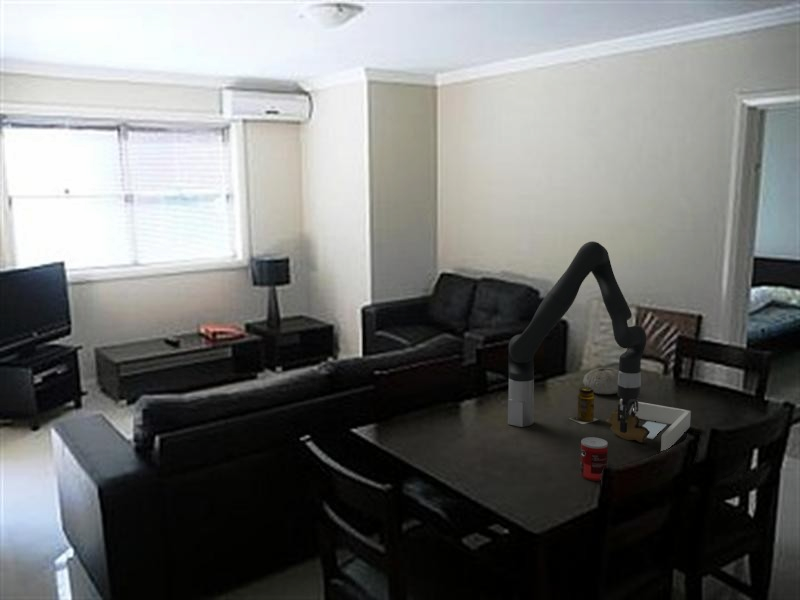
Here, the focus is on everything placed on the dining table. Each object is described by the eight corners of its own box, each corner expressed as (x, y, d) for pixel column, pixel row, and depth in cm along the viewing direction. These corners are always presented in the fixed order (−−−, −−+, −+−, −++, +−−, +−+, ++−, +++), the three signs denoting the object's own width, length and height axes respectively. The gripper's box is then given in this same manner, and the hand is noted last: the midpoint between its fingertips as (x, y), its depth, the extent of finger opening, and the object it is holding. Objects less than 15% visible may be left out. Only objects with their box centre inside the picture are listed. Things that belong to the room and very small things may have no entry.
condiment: (598, 420, 260) (599, 389, 258) (583, 424, 255) (583, 393, 253) (583, 414, 266) (584, 384, 264) (568, 419, 261) (569, 388, 259)
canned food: (586, 468, 217) (587, 435, 215) (611, 474, 212) (612, 440, 210) (575, 476, 211) (576, 442, 209) (600, 483, 206) (601, 448, 204)
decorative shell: (575, 388, 300) (575, 365, 298) (610, 383, 305) (611, 361, 303) (598, 400, 283) (599, 376, 281) (635, 395, 288) (636, 372, 286)
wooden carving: (652, 443, 236) (653, 415, 234) (644, 446, 233) (646, 418, 231) (610, 430, 248) (611, 404, 247) (603, 433, 245) (603, 407, 244)
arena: (665, 453, 227) (666, 435, 226) (590, 437, 242) (591, 421, 241) (690, 426, 251) (690, 410, 250) (620, 413, 266) (621, 398, 265)
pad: (652, 439, 239) (652, 438, 239) (632, 435, 243) (632, 434, 243) (667, 425, 253) (667, 424, 253) (647, 421, 257) (647, 420, 257)
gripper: (625, 377, 245) (623, 420, 248) (611, 387, 234) (609, 432, 237) (646, 380, 241) (645, 424, 243) (633, 390, 229) (631, 437, 232)
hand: (627, 428), depth 240 cm, fingers open, 8 cm apart
